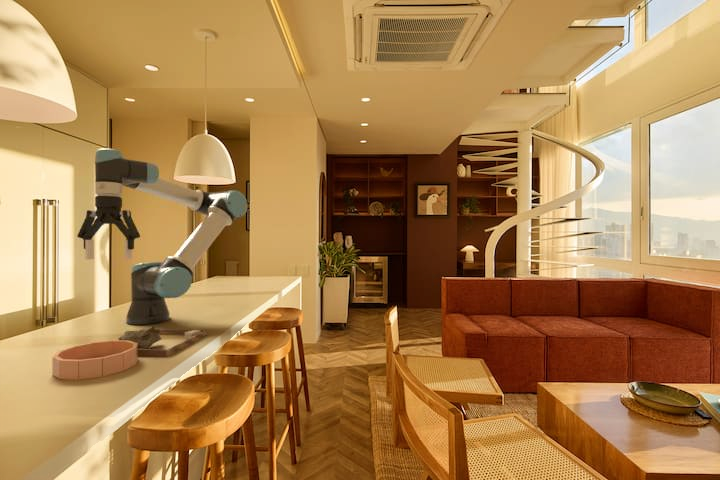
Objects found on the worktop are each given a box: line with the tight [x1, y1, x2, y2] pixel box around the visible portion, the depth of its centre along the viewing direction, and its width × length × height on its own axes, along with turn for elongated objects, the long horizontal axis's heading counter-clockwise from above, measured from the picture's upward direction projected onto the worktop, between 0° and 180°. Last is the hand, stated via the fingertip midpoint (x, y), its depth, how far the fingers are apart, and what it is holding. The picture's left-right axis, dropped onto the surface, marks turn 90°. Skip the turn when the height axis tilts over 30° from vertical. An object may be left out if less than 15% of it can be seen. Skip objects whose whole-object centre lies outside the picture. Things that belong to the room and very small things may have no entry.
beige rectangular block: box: [184, 329, 201, 340], centre depth 126 cm, size 4×3×2 cm
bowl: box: [51, 339, 139, 381], centre depth 98 cm, size 18×18×4 cm
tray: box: [138, 328, 208, 358], centre depth 119 cm, size 23×21×2 cm
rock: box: [117, 326, 163, 349], centre depth 113 cm, size 11×6×10 cm
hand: (108, 259), depth 125 cm, fingers open, 13 cm apart
